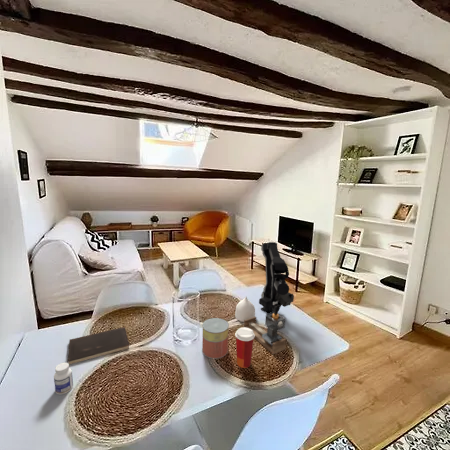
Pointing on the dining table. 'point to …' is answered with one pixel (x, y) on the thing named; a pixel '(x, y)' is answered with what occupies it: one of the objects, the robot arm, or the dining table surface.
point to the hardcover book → (97, 345)
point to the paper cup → (244, 346)
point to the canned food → (215, 338)
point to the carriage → (271, 335)
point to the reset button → (275, 316)
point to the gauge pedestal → (275, 321)
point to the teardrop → (244, 310)
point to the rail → (258, 334)
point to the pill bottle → (63, 378)
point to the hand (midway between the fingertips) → (275, 314)
